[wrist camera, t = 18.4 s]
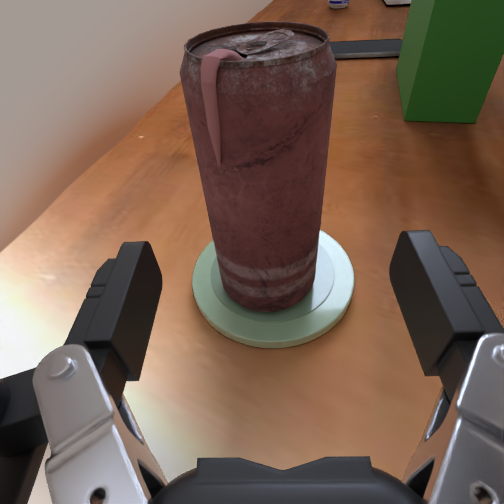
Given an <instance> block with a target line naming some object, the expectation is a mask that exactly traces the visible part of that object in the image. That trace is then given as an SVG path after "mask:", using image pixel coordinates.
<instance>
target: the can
mask: <svg viewBox="0 0 504 504" xmlns="http://www.w3.org/2000/svg"><path fill="white" fill-rule="evenodd" d="M184 50H185V54H184V58H183V62H182V65H181V69H180V77H181V82H182V87H183V92H184V97H185V102H186V107H187V112H188V117H189V121H190V126H191V131H192V136H193V141H194V146H195V151H196V156H197V161H198V166H199V171H200V176H201V181H202V186H203V191H204V196H205V201H206V206H207V211H208V216H209V221H210V226H211V231H212V236H213V241H214V246H215V251H216V256H217V261H218V266H219V271H220V276H221V280H222V284H223V289H224V290H225V291H226V293H227V294H228V296H229V297H230V298H231V299H232V300H233V301H235V302H236V303H238V304H239V305H241V306H242V307H245V308H247V309H251V310H254V311H257V312H276V311H280V310H284V309H287V308H289V307H291V306H293V305H295V304H296V303H298V302H300V301H301V300H303V299H304V297H305V296H306V295H307V294H308V293H309V292H310V291H311V288H312V286H313V283H314V280H315V273H316V263H317V253H318V244H319V234H320V224H321V214H322V204H323V195H324V185H325V175H326V165H327V155H328V146H329V136H330V126H331V116H332V106H333V97H334V87H335V77H336V67H337V64H336V61H335V58H334V55H333V53H332V50H331V47H330V45H329V35H328V32H327V31H325V30H323V29H322V28H320V27H317V26H313V25H309V24H303V23H294V22H256V23H245V24H238V25H231V26H226V27H221V28H217V29H213V30H210V31H207V32H204V33H201V34H198V35H197V36H195V37H193V38H191V39H189V40H188V41H187V43H186V44H185V45H184Z"/></svg>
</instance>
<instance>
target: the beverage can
mask: <svg viewBox="0 0 504 504" xmlns="http://www.w3.org/2000/svg"><path fill="white" fill-rule="evenodd" d="M348 4H349V0H329V5H330V6H331V8H337V9H338V8H345V7H346V5H348Z"/></svg>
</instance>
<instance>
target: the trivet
mask: <svg viewBox="0 0 504 504" xmlns="http://www.w3.org/2000/svg"><path fill="white" fill-rule="evenodd" d="M354 281H355V278H354V270H353V267H352V264H351V261H350V259H349V257H348V255H347V254H346V252H345V251H344V249H343V248H342V247H341V246H340V245H339V243H338V242H337V241H335V240H334V239H333V238H332V237H331V236H329V235H328V234H326V233H325V232H323V231H321V230H320V234H319V244H318V253H317V263H316V273H315V280H314V283H313V286H312V288H311V291H310V292H309V293H308V294H307V295H306V296H305V297H304V299H303V300H301V301H300V302H298V303H296V304H295V305H293V306H291V307H289V308H287V309H284V310H280V311H276V312H257V311H254V310H251V309H247V308H245V307H242V306H241V305H239V304H238V303H236V302H235V301H233V300H232V299H231V298H230V297H229V296H228V294H227V293H226V291H225V290H224V289H223V284H222V280H221V276H220V271H219V266H218V261H217V256H216V251H215V246H214V241H212V242H210V243H209V244H208V246H207V247H206V248H205V249H204V250H203V252H202V253H201V254H200V256H199V258H198V260H197V262H196V264H195V267H194V271H193V277H192V288H193V293H194V297H195V300H196V303H197V306H198V308H199V310H200V312H201V314H202V315H203V317H204V318H205V319H206V320H207V322H208V323H209V324H210V325H211V326H212V327H213V328H215V329H216V330H217V331H218V332H220V333H221V334H223V335H224V336H226V337H228V338H230V339H232V340H234V341H236V342H239V343H242V344H245V345H249V346H254V347H259V348H285V347H291V346H297V345H300V344H303V343H307V342H309V341H311V340H314V339H316V338H318V337H319V336H321V335H323V334H324V333H326V332H328V331H329V330H330V329H331V328H332V327H334V326H335V325H336V324H337V323H338V322H339V320H340V319H341V318H342V317H343V315H344V314H345V312H346V311H347V309H348V307H349V304H350V302H351V298H352V294H353V290H354Z"/></svg>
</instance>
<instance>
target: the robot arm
mask: <svg viewBox="0 0 504 504" xmlns="http://www.w3.org/2000/svg"><path fill="white" fill-rule="evenodd" d="M389 275H390V281H391V284H392V287H393V290H394V292H395V295H396V298H397V301H398V303H399V306H400V309H401V312H402V314H403V317H404V320H405V323H406V325H407V328H408V331H409V334H410V336H411V339H412V342H413V345H414V347H415V350H416V353H417V355H418V358H419V361H420V364H421V366H422V369H423V372H424V375H425V376H440V379H441V381H442V384H443V386H442V388H441V390H440V392H439V395H438V397H437V400H436V402H435V405H434V407H433V410H432V413H431V415H430V418H429V420H428V423H427V425H426V428H425V430H424V433H423V436H422V438H421V441H420V443H419V445H418V447H417V449H416V451H415V453H414V454H413V456H412V458H411V460H410V462H409V464H408V466H407V468H406V470H405V473H404V475H403V478H402V480H401V481H400V480H399V479H397V478H395V477H394V476H392V475H390V474H388V473H386V472H384V471H382V470H379V469H377V468H374V467H372V466H371V461H370V456H364V457H324V458H321V459H318V460H315V461H312V462H309V463H306V464H303V465H300V466H296V467H293V468H290V469H287V470H279V469H275V468H272V467H269V466H265V465H262V464H259V463H255V462H252V461H249V460H245V459H242V458H198V459H197V468H195V469H192V470H190V471H188V472H185V473H183V474H181V475H180V476H178V477H177V478H175V479H174V480H172V481H171V482H170V483H168V482H167V480H166V478H165V475H164V473H163V471H162V469H161V468H160V466H159V464H158V462H157V460H156V459H155V457H154V456H153V454H152V453H151V451H150V449H149V447H148V445H147V443H146V441H145V439H144V437H143V435H142V433H141V431H140V428H139V426H138V424H137V422H136V420H135V418H134V416H133V414H132V411H131V409H130V407H129V405H128V403H127V401H126V399H125V396H124V395H123V391H124V387H125V384H126V381H139V378H140V374H141V370H142V366H143V362H144V358H145V354H146V350H147V346H148V342H149V338H150V334H151V330H152V327H153V323H154V319H155V315H156V311H157V307H158V303H159V299H160V295H161V290H162V274H161V271H160V268H159V265H158V263H157V260H156V258H155V255H154V252H153V250H152V247H151V245H150V243H149V242H148V241H141V242H124V243H123V244H122V245H121V247H120V250H119V252H118V255H117V257H116V259H108V260H107V261H106V262H105V263H104V264H103V265H102V266H101V267H100V268H99V269H98V270H97V272H96V274H95V277H94V279H93V281H92V283H91V288H89V290H88V292H87V295H86V299H84V301H83V304H82V306H81V308H80V310H79V313H78V315H77V317H76V319H75V321H74V324H73V326H72V328H71V330H70V333H69V335H68V337H67V339H66V341H65V343H64V345H63V346H61V347H59V348H57V349H55V350H53V351H52V352H50V353H49V354H48V355H46V356H45V357H44V358H43V359H42V360H41V362H40V363H39V364H38V366H37V367H36V368H33V369H30V370H27V371H24V372H21V373H18V374H15V375H12V376H9V377H6V378H3V379H0V504H27V503H28V500H29V497H30V495H31V491H32V488H33V486H34V483H35V480H36V477H37V474H38V471H39V468H40V465H41V462H42V459H43V456H44V453H45V450H46V447H47V444H48V443H49V445H50V449H51V457H50V458H48V459H47V460H46V463H45V474H46V479H47V484H48V487H49V491H50V495H51V499H52V503H53V504H504V329H503V327H502V325H501V324H500V322H499V320H498V319H497V317H496V315H495V314H494V312H493V310H492V309H491V307H490V305H489V303H488V302H487V300H486V298H485V297H484V295H483V293H482V292H481V290H480V288H479V287H477V286H476V284H477V283H476V282H475V280H474V278H473V277H472V275H470V272H469V270H468V268H467V267H466V265H465V263H464V262H463V260H462V258H461V257H460V256H458V255H457V254H456V253H455V252H454V251H452V250H451V249H450V248H449V247H448V246H439V245H438V243H437V241H436V240H435V238H434V236H433V234H432V233H431V232H430V231H429V230H417V231H402V232H401V234H400V236H399V239H398V242H397V245H396V248H395V251H394V254H393V257H392V260H391V263H390V268H389Z"/></svg>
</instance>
